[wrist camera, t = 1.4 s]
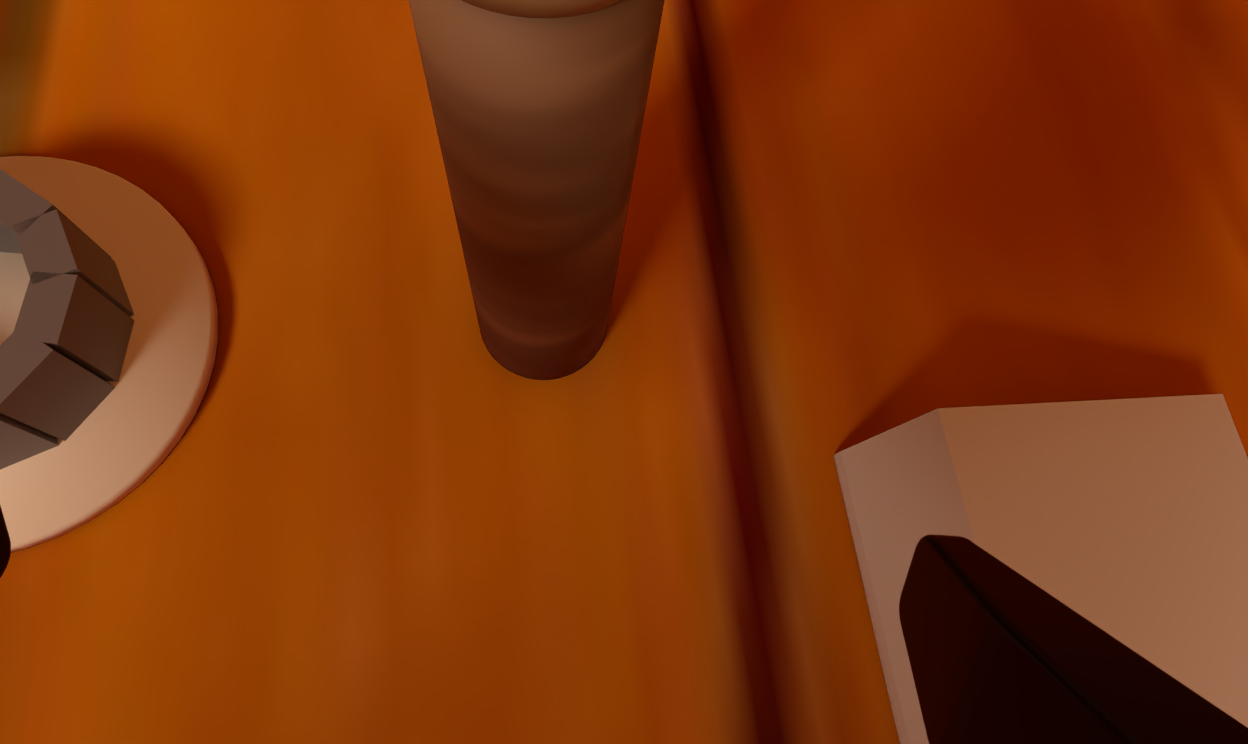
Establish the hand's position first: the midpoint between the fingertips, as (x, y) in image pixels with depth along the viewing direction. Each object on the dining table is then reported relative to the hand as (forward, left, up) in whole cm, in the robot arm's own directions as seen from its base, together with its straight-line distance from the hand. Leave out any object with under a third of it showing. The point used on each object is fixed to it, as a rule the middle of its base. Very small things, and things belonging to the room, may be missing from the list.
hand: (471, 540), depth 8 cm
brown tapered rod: (+4, +7, -13) cm, 16 cm away
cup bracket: (-9, +13, -13) cm, 20 cm away
